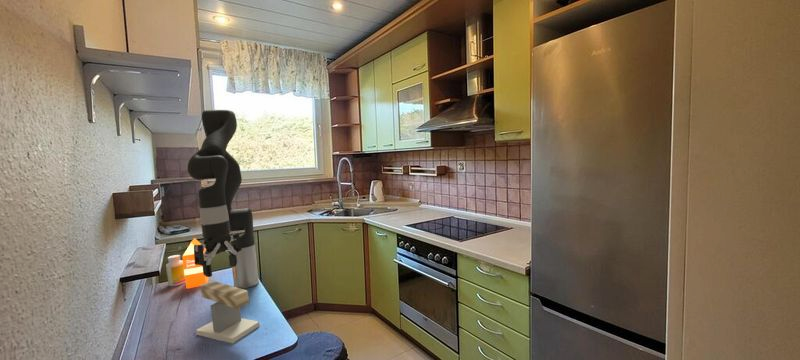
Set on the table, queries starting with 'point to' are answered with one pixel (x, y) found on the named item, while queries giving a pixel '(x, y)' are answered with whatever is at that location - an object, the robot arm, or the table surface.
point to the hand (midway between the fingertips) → (221, 271)
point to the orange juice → (193, 267)
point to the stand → (226, 324)
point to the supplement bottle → (175, 271)
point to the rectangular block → (225, 294)
